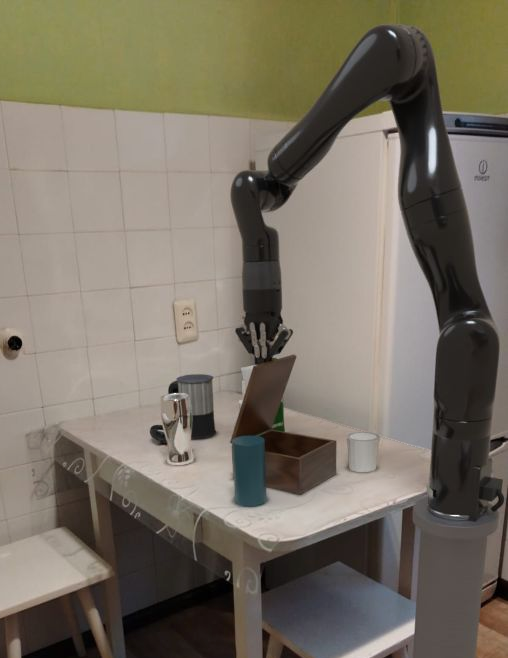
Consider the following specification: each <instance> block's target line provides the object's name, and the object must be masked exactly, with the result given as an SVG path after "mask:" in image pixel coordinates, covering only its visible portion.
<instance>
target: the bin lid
mask: <svg viewBox="0 0 508 658" xmlns="http://www.w3.org/2000/svg"><path fill="white" fill-rule="evenodd" d="M296 359H297V355H296V354H291V355H287V356H283V357H280V358H277V359H276V360H273V361H269V362H266V363H262V364H259V365H257V364H255V365H256V366H253V365H252V366H253V369H252V373H251V376H250V379H249V382H248V386H247V389H246V392H245V395H244V399H243V398H242V399H243V402H242V405H241V408H240V412H239V411H238V416H237V418H236V422H235V425H234V427H233V431H232V435H231V437H230V440H229V442H230V444H231V445H232V440H233V439H234V438H237V437H241V436H254V435H256V434H259V433H261V432H264V431H266V430H268V429H271V428H272V426H273V423H274V420H275V417H276V415H277V412H278V409H279V406H280V403H281V400H282V397H283V398H284V394H285V392H286V388H287V386H288V382H289V380H290V377H291V374H292V371H293V368H294V366H295V362H296Z"/></svg>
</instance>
